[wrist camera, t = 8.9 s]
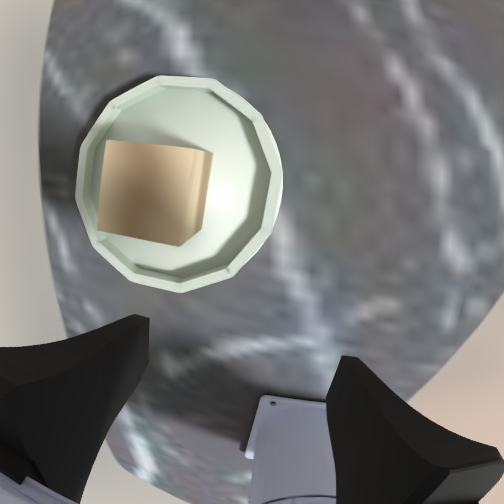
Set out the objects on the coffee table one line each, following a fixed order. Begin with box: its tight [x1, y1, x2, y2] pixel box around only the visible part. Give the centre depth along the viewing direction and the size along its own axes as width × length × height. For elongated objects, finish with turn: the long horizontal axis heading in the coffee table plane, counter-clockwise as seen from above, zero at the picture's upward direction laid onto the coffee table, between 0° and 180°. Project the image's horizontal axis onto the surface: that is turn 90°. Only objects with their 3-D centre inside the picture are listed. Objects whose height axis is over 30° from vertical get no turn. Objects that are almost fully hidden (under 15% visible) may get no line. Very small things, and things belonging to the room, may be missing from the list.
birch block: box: [97, 140, 214, 247], centre depth 16 cm, size 4×4×4 cm
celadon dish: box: [75, 76, 283, 293], centre depth 18 cm, size 13×13×2 cm
